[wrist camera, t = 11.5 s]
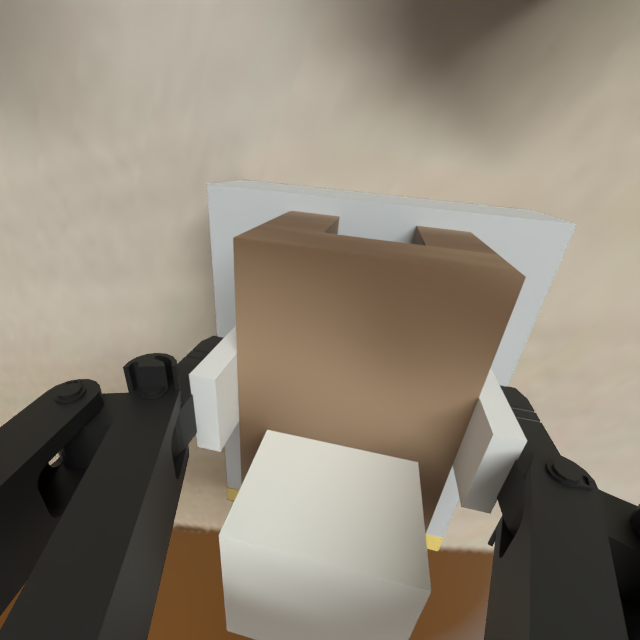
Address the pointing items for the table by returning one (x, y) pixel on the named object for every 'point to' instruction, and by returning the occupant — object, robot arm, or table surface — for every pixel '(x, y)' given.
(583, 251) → the table surface
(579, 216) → the table surface
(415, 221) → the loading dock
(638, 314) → the table surface
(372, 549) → the small white block
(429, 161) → the table surface
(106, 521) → the robot arm
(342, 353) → the notched wooden block
